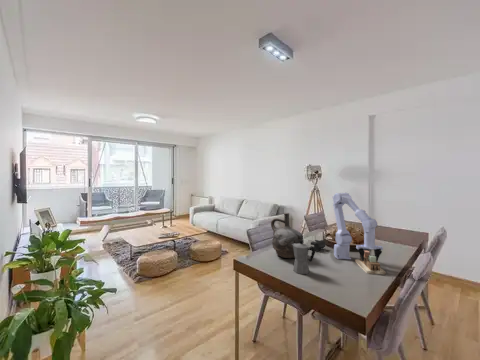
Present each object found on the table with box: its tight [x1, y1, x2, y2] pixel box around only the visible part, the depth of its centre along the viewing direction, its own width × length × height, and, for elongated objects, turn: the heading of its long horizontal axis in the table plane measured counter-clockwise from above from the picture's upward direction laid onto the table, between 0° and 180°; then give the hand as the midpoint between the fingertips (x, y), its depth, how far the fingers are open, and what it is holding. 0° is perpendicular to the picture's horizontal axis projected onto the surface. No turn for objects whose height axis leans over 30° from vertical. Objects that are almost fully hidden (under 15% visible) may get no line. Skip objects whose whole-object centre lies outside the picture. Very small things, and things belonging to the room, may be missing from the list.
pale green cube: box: [368, 254, 376, 262], centre depth 134 cm, size 3×3×3 cm
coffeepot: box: [291, 240, 316, 275], centre depth 133 cm, size 15×9×18 cm, turn 43°
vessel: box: [270, 212, 305, 259], centre depth 159 cm, size 24×22×30 cm
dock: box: [354, 258, 387, 275], centre depth 139 cm, size 10×18×2 cm, turn 173°
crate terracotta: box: [364, 250, 371, 257], centre depth 143 cm, size 3×3×3 cm
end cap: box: [310, 239, 326, 252], centre depth 171 cm, size 10×7×7 cm
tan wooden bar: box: [359, 255, 381, 271], centre depth 139 cm, size 16×5×4 cm, turn 173°
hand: (369, 261), depth 139 cm, fingers open, 7 cm apart
